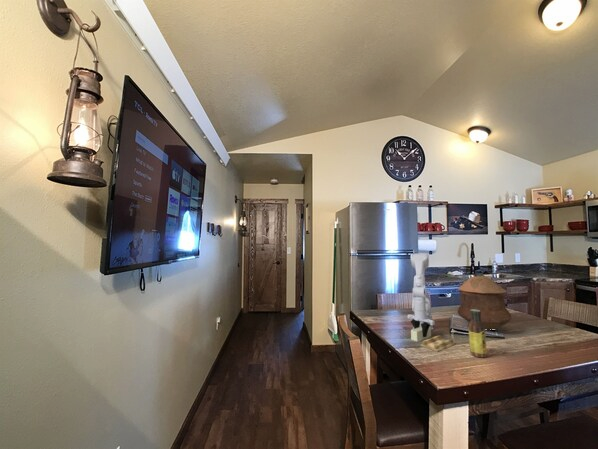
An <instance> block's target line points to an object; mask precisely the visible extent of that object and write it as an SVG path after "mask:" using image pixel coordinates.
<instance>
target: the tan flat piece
mask: <svg viewBox="0 0 598 449" xmlns="http://www.w3.org/2000/svg"><path fill="white" fill-rule="evenodd" d="M420 346H421V347H423V348H427V349H429V350H432V351H434V352H436V353H438V352H441V351H443V350H445V349H448V348H450V347H452V346H456V343H455V342H454V339H451V338H449V339H443V338H442V336H441V335H436V336H433V337H432V336H431V337H430V338H427V339H424V340H422V343H421V344H420Z"/></svg>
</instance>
